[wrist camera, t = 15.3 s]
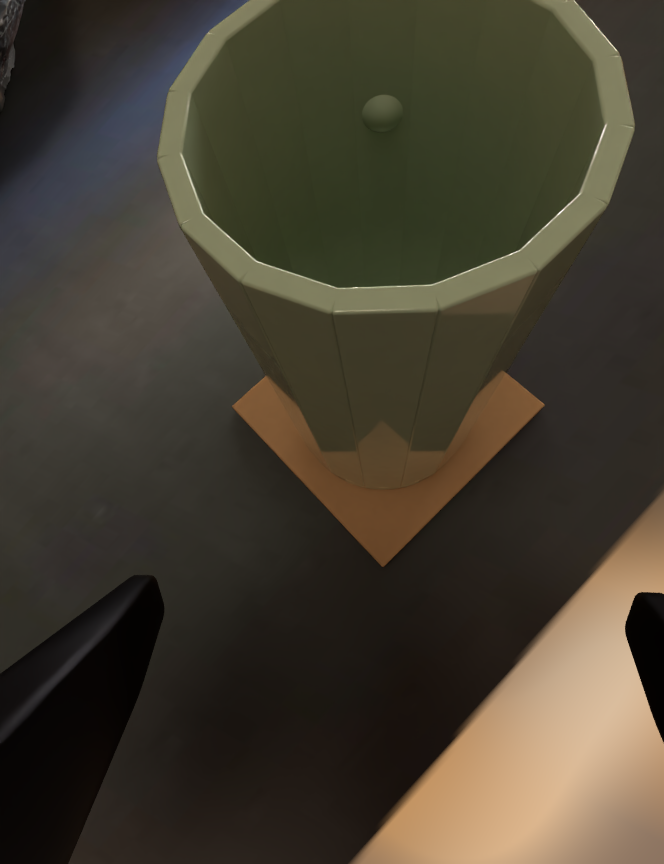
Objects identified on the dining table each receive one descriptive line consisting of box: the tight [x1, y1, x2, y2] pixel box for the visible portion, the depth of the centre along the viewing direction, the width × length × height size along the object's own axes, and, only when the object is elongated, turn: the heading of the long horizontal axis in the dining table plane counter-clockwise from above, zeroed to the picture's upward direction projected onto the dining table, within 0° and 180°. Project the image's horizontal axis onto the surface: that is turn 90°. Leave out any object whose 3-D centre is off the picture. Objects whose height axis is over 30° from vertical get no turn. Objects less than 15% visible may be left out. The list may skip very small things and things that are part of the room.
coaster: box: [232, 373, 544, 567], centre depth 20 cm, size 9×9×1 cm
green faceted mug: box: [157, 0, 635, 490], centre depth 14 cm, size 10×7×13 cm
